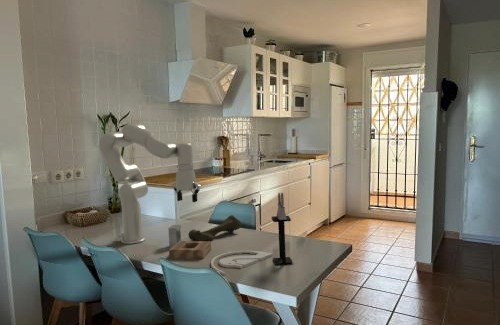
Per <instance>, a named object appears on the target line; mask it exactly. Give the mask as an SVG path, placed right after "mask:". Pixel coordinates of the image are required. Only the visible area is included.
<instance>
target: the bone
mask: <svg viewBox="0 0 500 325" xmlns="http://www.w3.org/2000/svg"><path fill="white" fill-rule="evenodd" d="M241 227H242V222H241V220H239V219H238V218H237V217H236V216H234V215H229V216H228V217H227V218H225V220H224V221H222V223H221V224H219V225H217V226H215V227H213V228H211V229H207V230H205V231H200V230H196V229H191V230H189V231H188V232H189V233H188V238H189V240H190V241H197V240H198V241H210V240H212V241H213V240H215V236H216V235H217V234H220V233H222V232H228V233H229V232H232V233H233V232H234V231H237V230H239V229H240V228H241Z"/></svg>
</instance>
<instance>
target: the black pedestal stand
mask: <svg viewBox="0 0 500 325" xmlns="http://www.w3.org/2000/svg"><path fill="white" fill-rule="evenodd" d="M277 197H278V199H277V201H278V203H277V212H276V215H275V216H273V215H272V216H271V220H272V222H273V223H278V224H277V225H278V228H277V229H278V249H279V250H278V251H279V257H273V258H272V261H273V263H274V265H275V266H285V265H286V266H289V265H294V263H293V260H292V259H291V257H290V256H287V255H286V233H285V232H286V230H285V228H286V227H285V222H292V218H291V217H290V216H289V215H287V214H286V208H285V206H284V205H285V203H284V200H285V199H284V193H283V192H278V194H277Z"/></svg>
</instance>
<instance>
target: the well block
mask: <svg viewBox="0 0 500 325" xmlns="http://www.w3.org/2000/svg"><path fill="white" fill-rule="evenodd" d="M211 250H212V241H208V240H198V241H194V240H181V241H179V242H178V243H177V244H175V245H174V246H173V247H172V248H169V249H168V256H169V258H168V259H175V260H176V259H181V260H182V259H184V260H189V259H190V260H192V259H194V260H195V259H196V260H197V259H199V260H201V259H202V260H204V259H205V257H206V256H207V255H208V254H209V253H210V252H211Z"/></svg>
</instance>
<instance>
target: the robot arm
mask: <svg viewBox="0 0 500 325" xmlns="http://www.w3.org/2000/svg"><path fill="white" fill-rule="evenodd" d="M133 144H137V145H138V146H141V147H143V148H145V150H146V151H147V152H148V153H150V154H151V155H154V156H156V157H158V158H161V159H165V160H166V159H173V158H177V159H176V160H177V165H176V168H177V170H176V174H175V182H174V183H172V187H173V190H174V191H175V194H176V199H177V202H181V201H182V200H183V192H182V191H185V192H186V191H188V192H189V191H191V193H192V194H191V198H192V199H191V200H192V203H196V202H198V194H199V192H200V191H201V190H200V189H201V187H202V185H201V184H200V183H198V182H197V179H196V173H195V170H194V161H193V160H194V157H193V145H192V144H191V142H181V143H180V142H179V143H177V142H169V143H168V142H167V143H166V142H165V143H164V142H161V141H159V140H157V139H155V135H154V133H153V132H152V131H149V130H147V128H146V127H145V126H144V125H143V124H140V123H128V124H125V125H124V126H123V127H122V128H121V131H110V132H106V133H103V135H101V137H100V138H99V141H98V147H99V151H100V153H101V155H102V157H103V158H104V160H105V161H106V164H107V166H108V169H109V170H110V172H111V175H112V177H113V178H114V180H115V181H116V182H118V183H124V184H122V185H121V186H120V188H119V190H118V196H119V201H120V205H121V215H122V216H121V217H122V230H123V232H118V233H117V238H121V240H120V242H121V244H126V245H127V244H128V245H131V244H138V243H141V242H145V240H146V236H144V235H143V227H142V226H143V224H142V211H141V210H142V209H141V205H140V202H139V200H138V199H141V198H144V197H145V196H146V195H147V194H148V192H149V188H148V183H147V182H146V179H145V178H144V175H143V173H142V170H140V168H139V166H137V165H136V164H134V163H131V162H130V163H126V161H125V160H124V158H123V156H122V154H121V153H120V152H119V151H118V150H117V149H118V148H126V147H129V146H131V145H133ZM125 182H126V183H125Z"/></svg>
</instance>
